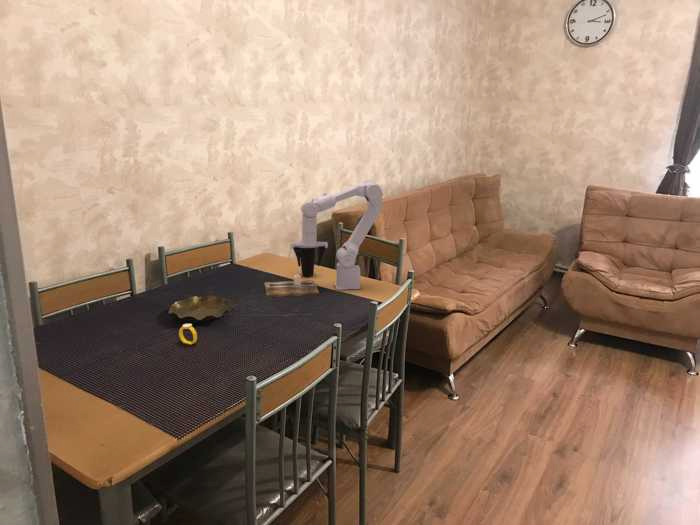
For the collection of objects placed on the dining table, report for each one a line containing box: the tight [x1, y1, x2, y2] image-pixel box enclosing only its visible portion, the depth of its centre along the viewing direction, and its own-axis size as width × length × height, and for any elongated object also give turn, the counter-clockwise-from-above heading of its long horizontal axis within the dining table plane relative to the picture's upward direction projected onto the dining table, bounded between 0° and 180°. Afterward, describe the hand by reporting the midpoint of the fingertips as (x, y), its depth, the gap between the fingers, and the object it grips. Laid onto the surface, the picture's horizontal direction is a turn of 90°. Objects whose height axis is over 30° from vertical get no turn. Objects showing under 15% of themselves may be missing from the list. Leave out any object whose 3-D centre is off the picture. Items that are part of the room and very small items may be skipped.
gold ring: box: [178, 323, 198, 345], centre depth 166 cm, size 6×3×6 cm, turn 64°
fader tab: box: [293, 273, 302, 285], centre depth 218 cm, size 3×4×4 cm
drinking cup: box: [300, 248, 317, 278], centre depth 235 cm, size 8×8×20 cm
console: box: [264, 279, 320, 298], centre depth 218 cm, size 20×16×2 cm
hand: (308, 265), depth 218 cm, fingers open, 7 cm apart
